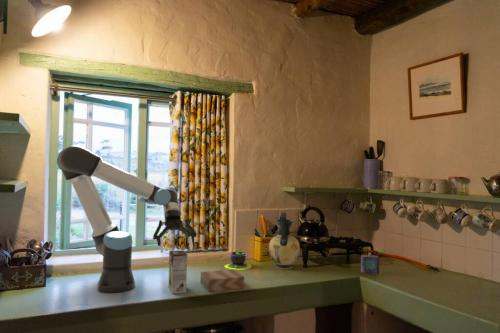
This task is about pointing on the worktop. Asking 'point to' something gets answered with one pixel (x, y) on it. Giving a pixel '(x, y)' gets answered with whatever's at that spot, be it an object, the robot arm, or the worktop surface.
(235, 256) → the toy cauldron
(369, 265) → the flask
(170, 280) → the coffee box
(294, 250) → the amphora
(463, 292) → the worktop surface
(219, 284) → the walnut base
